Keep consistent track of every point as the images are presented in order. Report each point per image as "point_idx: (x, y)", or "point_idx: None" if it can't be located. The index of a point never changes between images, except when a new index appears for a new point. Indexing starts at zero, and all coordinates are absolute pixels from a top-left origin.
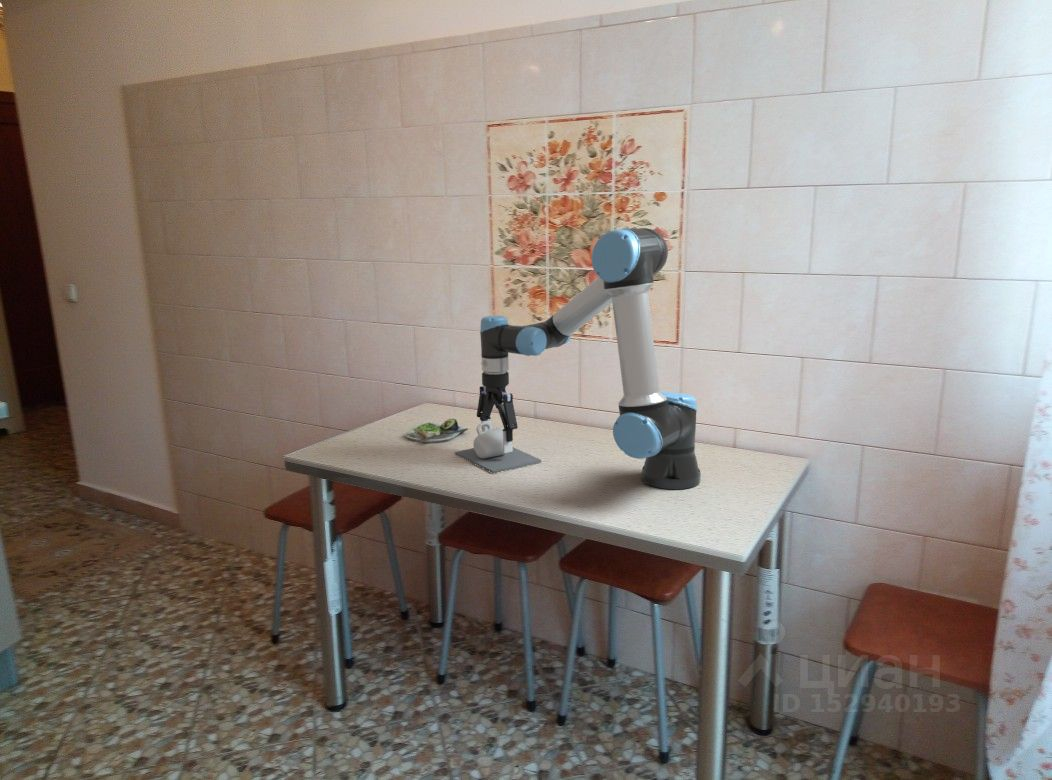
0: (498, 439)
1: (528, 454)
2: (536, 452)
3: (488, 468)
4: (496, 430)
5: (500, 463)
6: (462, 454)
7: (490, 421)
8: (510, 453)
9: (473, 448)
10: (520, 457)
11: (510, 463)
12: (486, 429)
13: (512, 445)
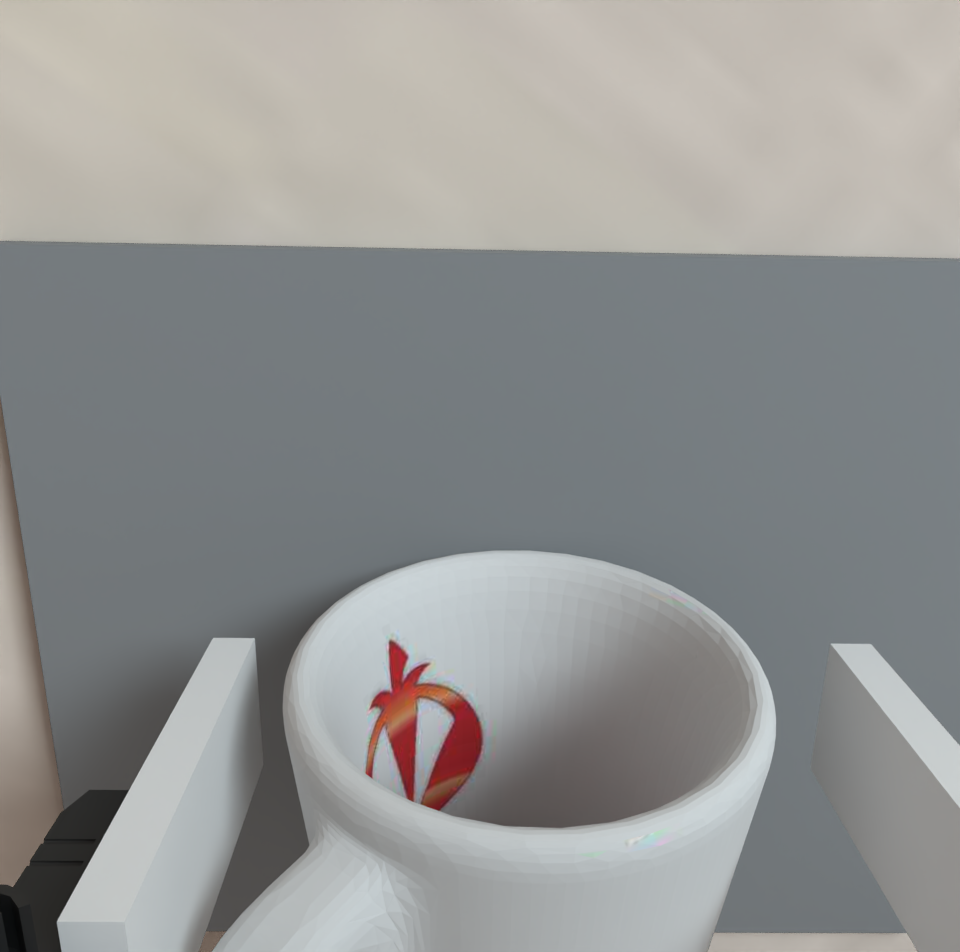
0: (728, 884)
1: (786, 272)
2: (676, 16)
3: (840, 925)
4: (596, 935)
5: (804, 756)
6: (224, 912)
7: (137, 916)
8: (567, 453)
9: (72, 717)
10: (806, 443)
11: (896, 672)
12: (195, 873)
13: (916, 696)
